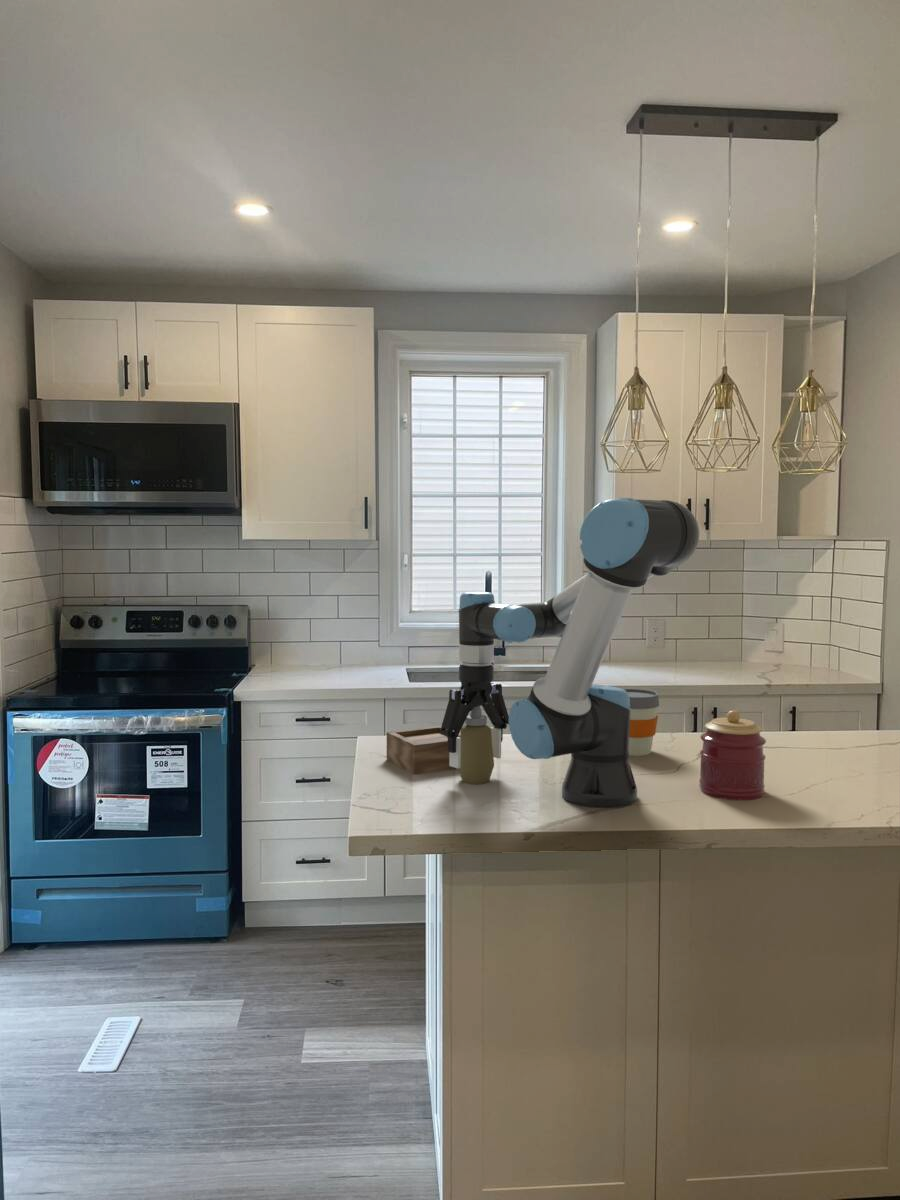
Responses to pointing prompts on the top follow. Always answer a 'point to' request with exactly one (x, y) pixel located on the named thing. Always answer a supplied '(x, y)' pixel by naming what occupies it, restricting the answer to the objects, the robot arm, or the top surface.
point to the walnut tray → (419, 750)
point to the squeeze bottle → (476, 749)
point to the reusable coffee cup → (642, 720)
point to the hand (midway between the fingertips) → (475, 762)
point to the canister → (732, 759)
